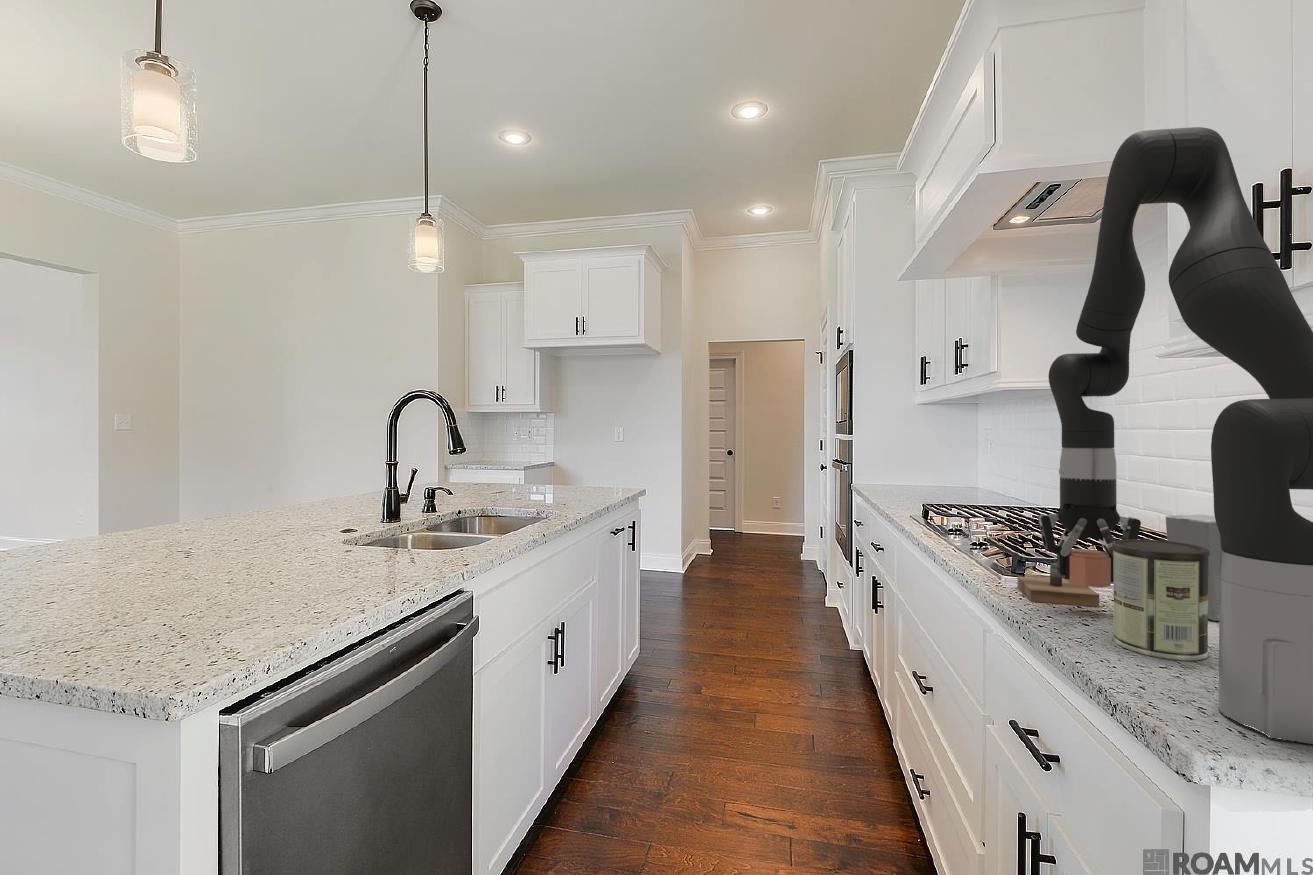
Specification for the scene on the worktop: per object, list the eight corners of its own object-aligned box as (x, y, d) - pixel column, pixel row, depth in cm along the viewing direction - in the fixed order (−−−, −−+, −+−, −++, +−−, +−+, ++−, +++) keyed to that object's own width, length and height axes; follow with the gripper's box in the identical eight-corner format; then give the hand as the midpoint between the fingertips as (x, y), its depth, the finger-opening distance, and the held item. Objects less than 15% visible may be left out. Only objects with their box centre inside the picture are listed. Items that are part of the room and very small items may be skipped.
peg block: (1099, 606, 102) (1099, 571, 102) (1031, 601, 105) (1031, 567, 105) (1079, 591, 111) (1079, 558, 111) (1017, 586, 115) (1017, 555, 115)
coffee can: (1153, 632, 90) (1154, 537, 89) (1230, 658, 79) (1231, 551, 79) (1092, 636, 88) (1093, 539, 88) (1163, 664, 78) (1164, 554, 77)
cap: (1114, 588, 95) (1114, 556, 95) (1073, 585, 97) (1072, 554, 97) (1101, 580, 100) (1101, 550, 100) (1062, 577, 102) (1062, 548, 102)
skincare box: (1254, 622, 94) (1256, 520, 93) (1207, 622, 94) (1208, 520, 94) (1206, 606, 102) (1207, 512, 102) (1163, 606, 102) (1164, 512, 102)
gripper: (1043, 476, 97) (1043, 581, 97) (1151, 478, 93) (1151, 588, 93) (1030, 473, 105) (1031, 571, 104) (1130, 475, 100) (1131, 578, 100)
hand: (1087, 579), depth 99 cm, fingers closed on cap, 5 cm apart
